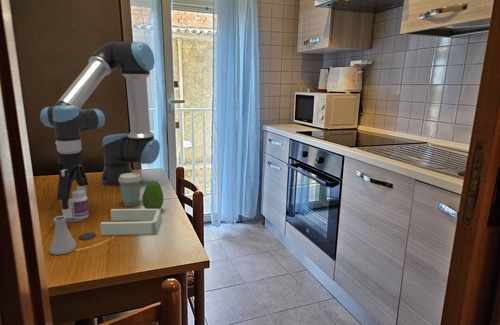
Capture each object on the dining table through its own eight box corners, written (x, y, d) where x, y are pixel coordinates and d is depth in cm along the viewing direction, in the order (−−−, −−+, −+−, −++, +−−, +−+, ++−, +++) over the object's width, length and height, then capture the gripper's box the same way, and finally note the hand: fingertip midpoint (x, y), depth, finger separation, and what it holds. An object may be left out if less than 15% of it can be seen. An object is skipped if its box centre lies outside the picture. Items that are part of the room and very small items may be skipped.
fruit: (138, 210, 127) (136, 181, 124) (156, 205, 133) (155, 177, 130) (149, 216, 122) (148, 185, 119) (167, 211, 128) (167, 181, 125)
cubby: (112, 219, 118) (111, 209, 118) (161, 218, 121) (161, 208, 120) (101, 235, 107) (100, 223, 106) (155, 234, 109) (155, 222, 108)
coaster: (68, 213, 122) (68, 212, 122) (91, 213, 123) (91, 212, 123) (59, 222, 114) (59, 221, 114) (83, 222, 115) (83, 221, 115)
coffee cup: (135, 208, 129) (133, 179, 126) (115, 206, 131) (113, 177, 128) (146, 201, 137) (144, 173, 134) (127, 199, 139) (125, 171, 136)
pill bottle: (92, 215, 120) (90, 190, 118) (80, 220, 116) (78, 194, 113) (80, 213, 122) (78, 188, 120) (68, 218, 117) (66, 192, 115)
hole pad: (82, 233, 107) (81, 232, 107) (98, 232, 108) (98, 232, 108) (75, 240, 103) (75, 240, 103) (92, 240, 103) (92, 239, 103)
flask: (56, 243, 100) (52, 212, 98) (81, 243, 101) (78, 213, 99) (43, 255, 93) (39, 223, 91) (70, 255, 94) (67, 223, 92)
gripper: (72, 144, 124) (78, 197, 130) (39, 160, 100) (47, 224, 106) (93, 144, 125) (98, 197, 131) (65, 160, 101) (72, 224, 107)
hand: (75, 209), depth 118 cm, fingers open, 13 cm apart
